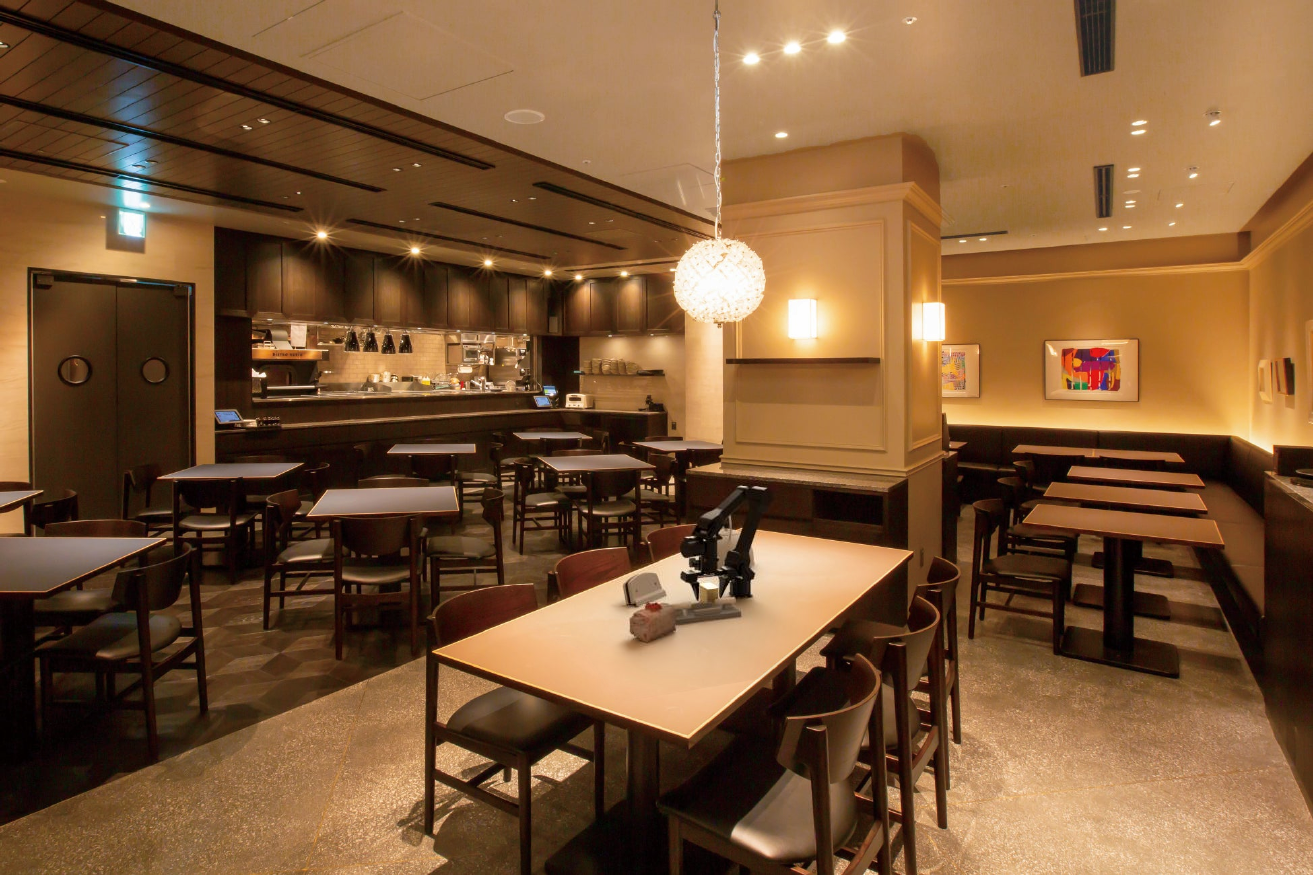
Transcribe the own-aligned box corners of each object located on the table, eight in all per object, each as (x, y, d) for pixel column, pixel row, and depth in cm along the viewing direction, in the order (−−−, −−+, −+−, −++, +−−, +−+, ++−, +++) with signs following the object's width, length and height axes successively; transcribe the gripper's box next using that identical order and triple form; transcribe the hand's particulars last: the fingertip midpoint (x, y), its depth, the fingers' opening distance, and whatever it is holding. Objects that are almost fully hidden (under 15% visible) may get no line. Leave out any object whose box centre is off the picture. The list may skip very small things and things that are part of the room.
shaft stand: (727, 606, 232) (727, 592, 232) (741, 616, 223) (741, 601, 223) (665, 614, 225) (665, 599, 225) (676, 624, 216) (676, 609, 215)
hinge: (637, 607, 232) (629, 577, 234) (626, 609, 235) (618, 580, 237) (667, 595, 246) (659, 567, 247) (657, 597, 249) (649, 569, 250)
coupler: (699, 601, 239) (699, 583, 239) (710, 599, 240) (710, 582, 240) (707, 606, 233) (707, 589, 233) (718, 605, 234) (718, 587, 234)
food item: (647, 645, 199) (647, 611, 198) (627, 638, 204) (627, 605, 203) (678, 632, 209) (678, 600, 208) (658, 626, 214) (658, 594, 213)
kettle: (694, 555, 303) (694, 504, 301) (745, 554, 305) (746, 502, 304) (704, 570, 278) (704, 514, 276) (760, 569, 280) (760, 513, 279)
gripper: (723, 546, 246) (723, 589, 247) (674, 550, 240) (674, 595, 241) (738, 553, 236) (737, 598, 237) (686, 558, 229) (686, 605, 231)
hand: (708, 599), depth 237 cm, fingers open, 8 cm apart
